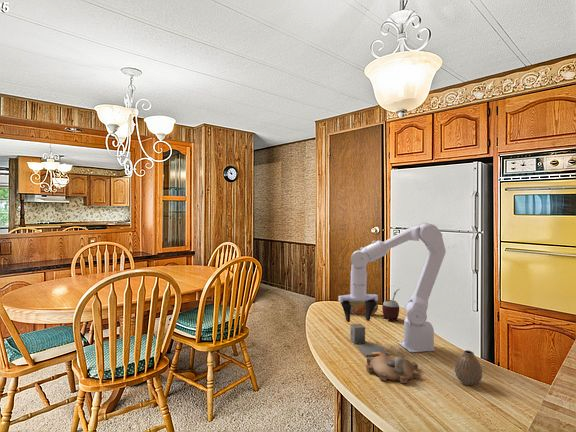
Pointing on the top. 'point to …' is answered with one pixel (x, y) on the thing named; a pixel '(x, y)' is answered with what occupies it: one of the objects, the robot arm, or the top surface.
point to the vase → (468, 369)
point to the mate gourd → (390, 309)
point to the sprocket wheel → (392, 368)
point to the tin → (360, 307)
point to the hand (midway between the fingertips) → (357, 320)
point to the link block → (357, 334)
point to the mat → (372, 350)
